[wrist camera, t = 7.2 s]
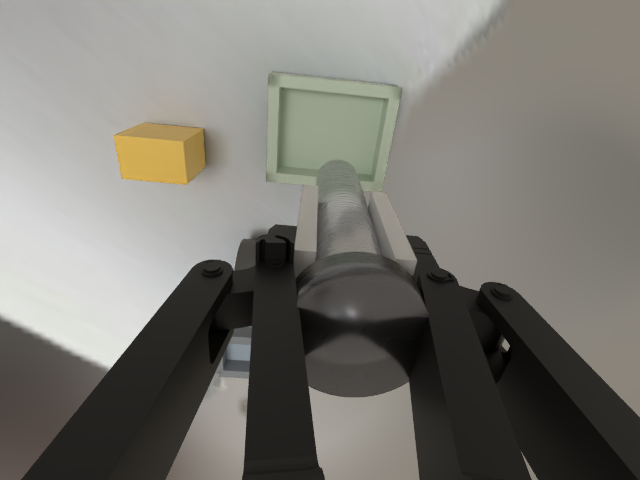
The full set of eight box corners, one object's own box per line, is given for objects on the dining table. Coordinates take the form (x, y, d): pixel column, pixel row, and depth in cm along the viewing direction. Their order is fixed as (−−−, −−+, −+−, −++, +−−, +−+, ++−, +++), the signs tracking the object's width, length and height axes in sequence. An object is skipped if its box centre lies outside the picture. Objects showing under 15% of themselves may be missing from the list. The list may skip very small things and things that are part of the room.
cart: (214, 308, 47) (186, 377, 37) (209, 223, 41) (173, 279, 31) (302, 315, 47) (297, 384, 38) (309, 232, 41) (306, 289, 31)
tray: (272, 71, 33) (268, 73, 30) (395, 84, 33) (402, 87, 31) (269, 172, 38) (266, 181, 35) (377, 182, 38) (381, 192, 36)
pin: (306, 143, 21) (283, 276, 9) (375, 150, 22) (455, 290, 9) (301, 208, 24) (277, 392, 11) (364, 214, 24) (415, 401, 11)
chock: (144, 122, 35) (113, 134, 30) (203, 128, 35) (183, 141, 30) (149, 160, 37) (121, 178, 32) (205, 166, 37) (187, 184, 32)
